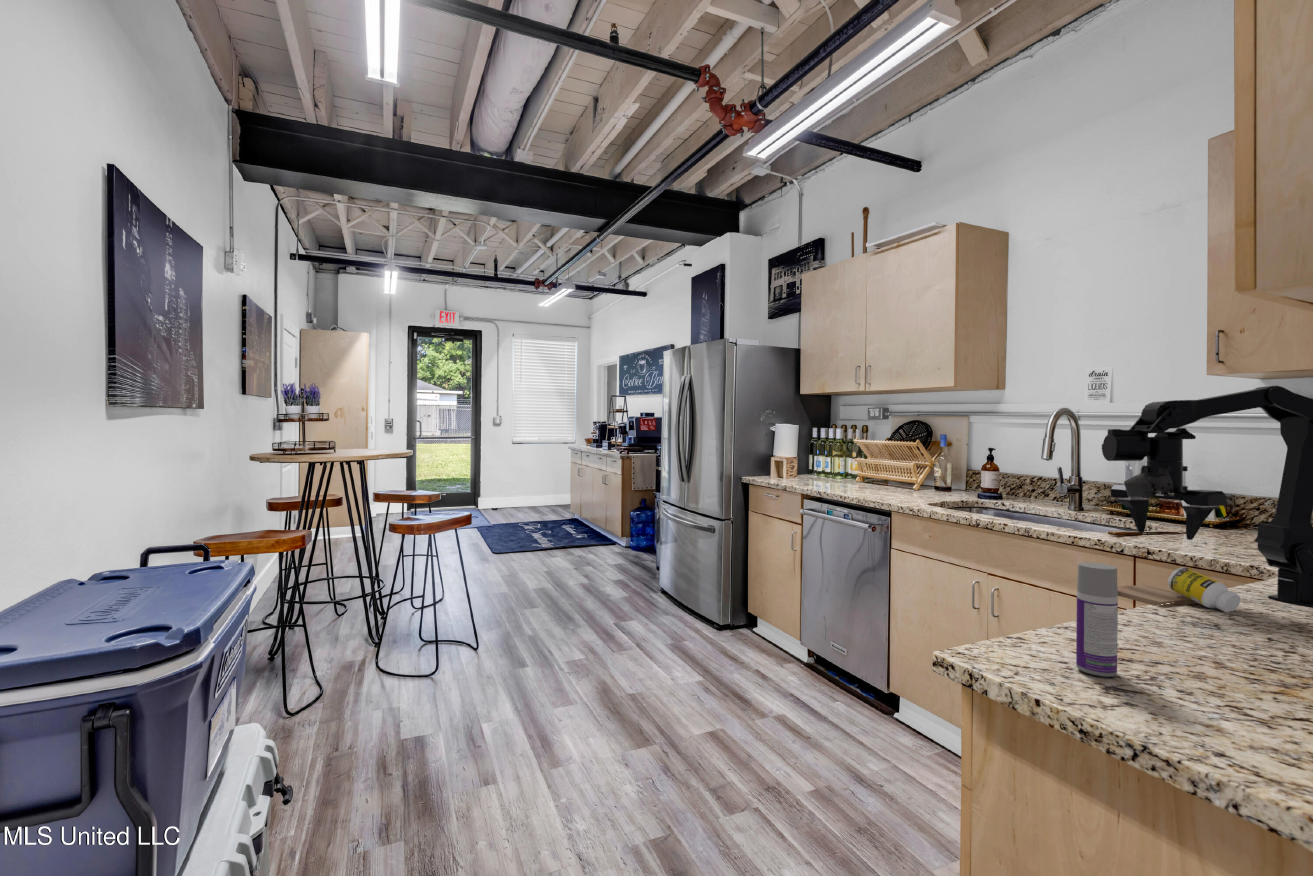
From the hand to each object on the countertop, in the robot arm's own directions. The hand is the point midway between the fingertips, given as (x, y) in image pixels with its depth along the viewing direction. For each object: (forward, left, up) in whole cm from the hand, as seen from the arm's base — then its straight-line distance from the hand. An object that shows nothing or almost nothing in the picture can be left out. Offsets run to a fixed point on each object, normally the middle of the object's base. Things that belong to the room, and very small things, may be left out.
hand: (1164, 535), depth 122 cm
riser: (+3, 0, -13) cm, 14 cm away
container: (+51, +26, -13) cm, 59 cm away
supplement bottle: (0, +2, -8) cm, 9 cm away
